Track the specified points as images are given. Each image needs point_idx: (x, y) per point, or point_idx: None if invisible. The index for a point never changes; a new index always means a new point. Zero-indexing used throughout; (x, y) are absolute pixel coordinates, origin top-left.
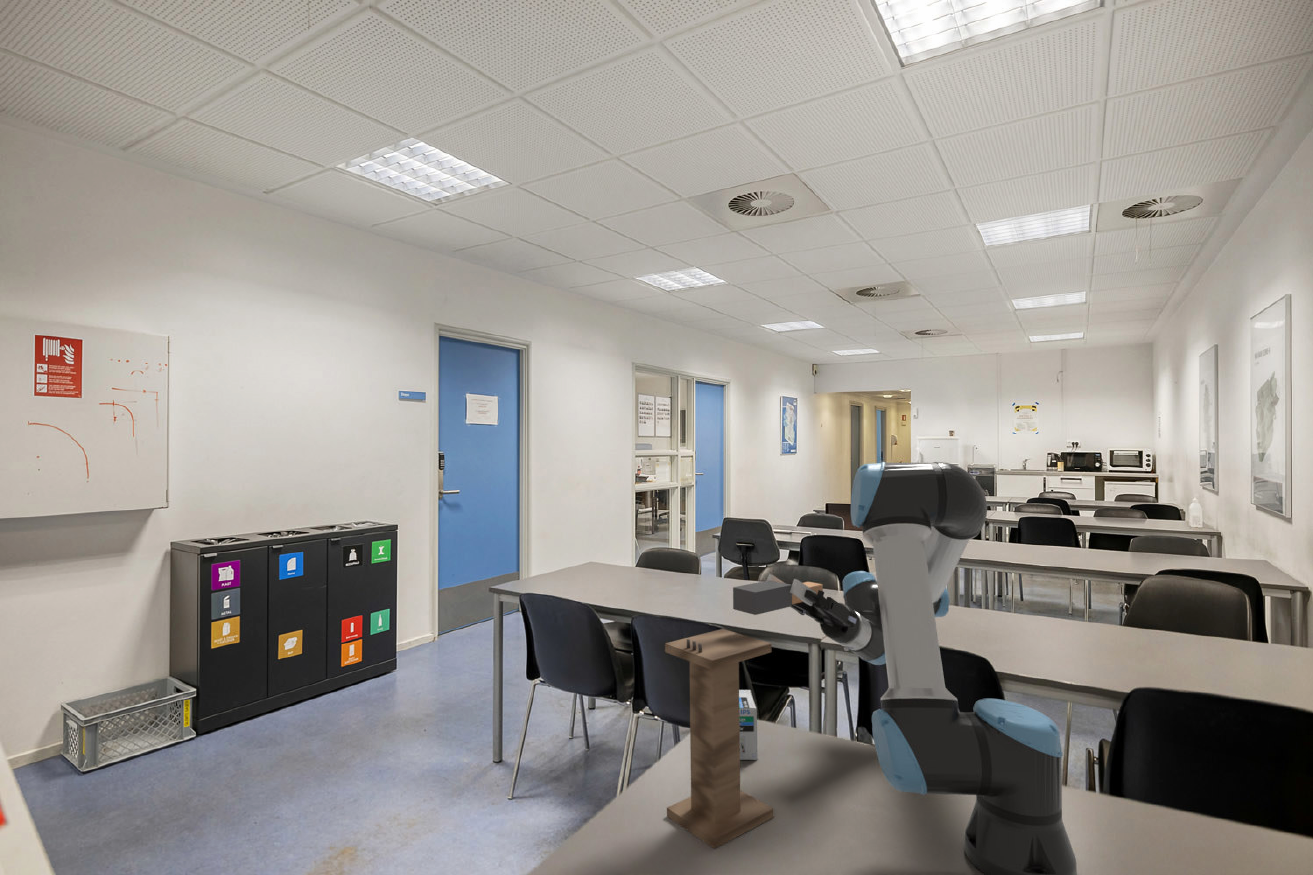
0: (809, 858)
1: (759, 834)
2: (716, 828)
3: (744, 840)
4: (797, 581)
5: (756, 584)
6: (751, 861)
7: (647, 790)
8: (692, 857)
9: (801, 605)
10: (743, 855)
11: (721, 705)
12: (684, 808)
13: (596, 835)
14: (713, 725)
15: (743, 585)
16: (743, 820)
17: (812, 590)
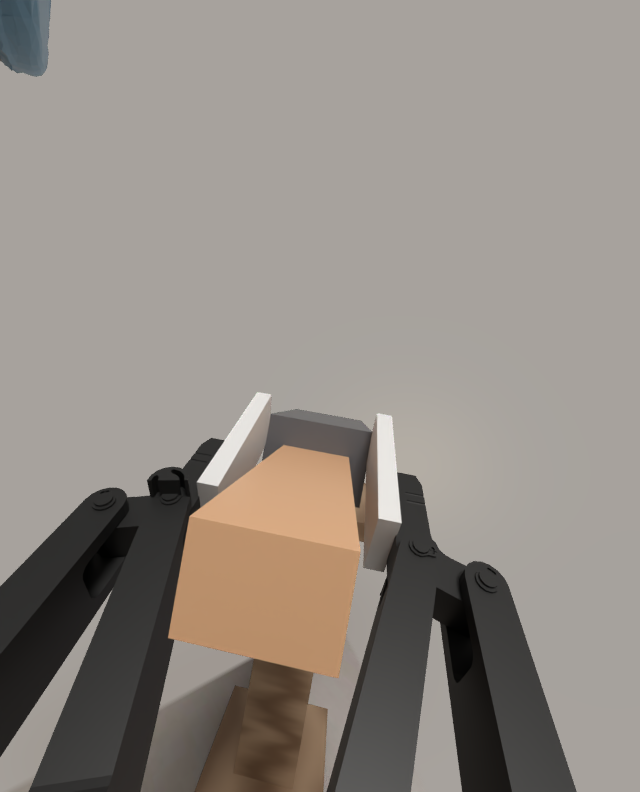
0: None
1: (186, 769)
2: (244, 707)
3: (203, 738)
4: (255, 399)
5: (350, 422)
6: (179, 702)
7: None
8: (247, 671)
9: (347, 720)
10: (193, 706)
11: None
12: (308, 722)
13: (348, 649)
14: None
15: (361, 422)
16: (218, 750)
17: (213, 460)
